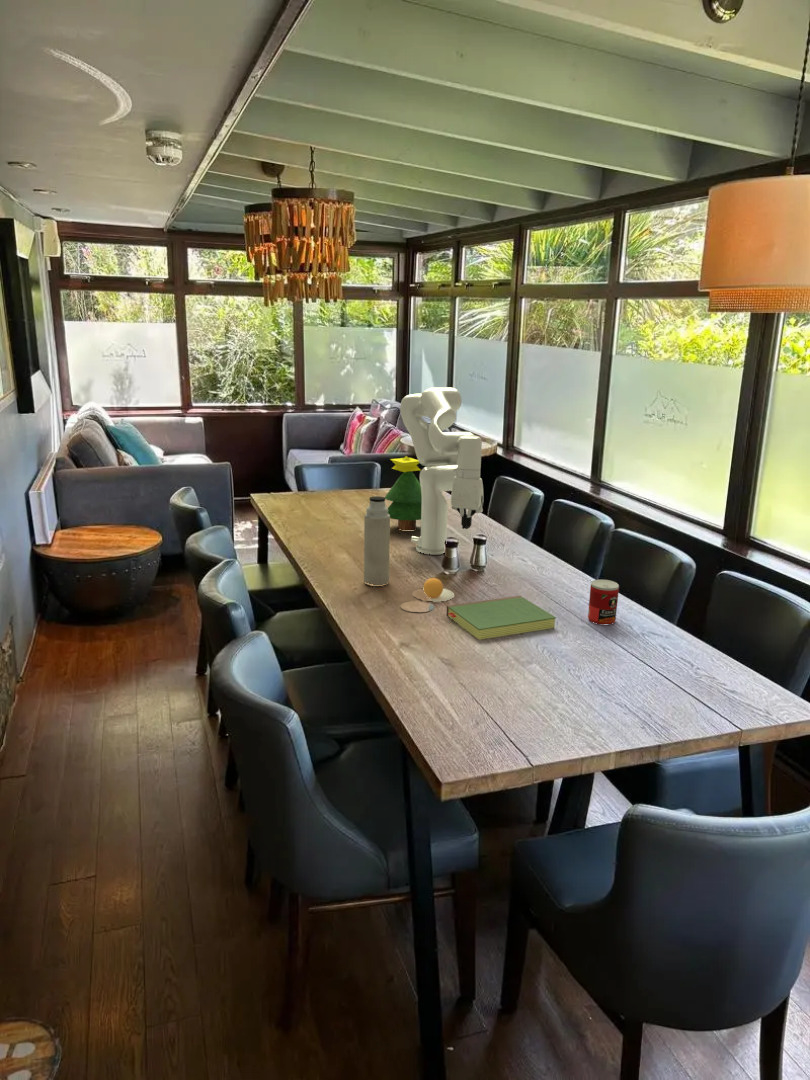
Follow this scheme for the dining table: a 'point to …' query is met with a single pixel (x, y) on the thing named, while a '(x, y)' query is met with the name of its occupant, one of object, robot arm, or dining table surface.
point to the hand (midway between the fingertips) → (466, 527)
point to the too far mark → (431, 607)
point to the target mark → (444, 596)
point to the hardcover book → (500, 617)
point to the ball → (433, 587)
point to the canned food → (603, 601)
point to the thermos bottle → (376, 542)
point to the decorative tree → (405, 495)
